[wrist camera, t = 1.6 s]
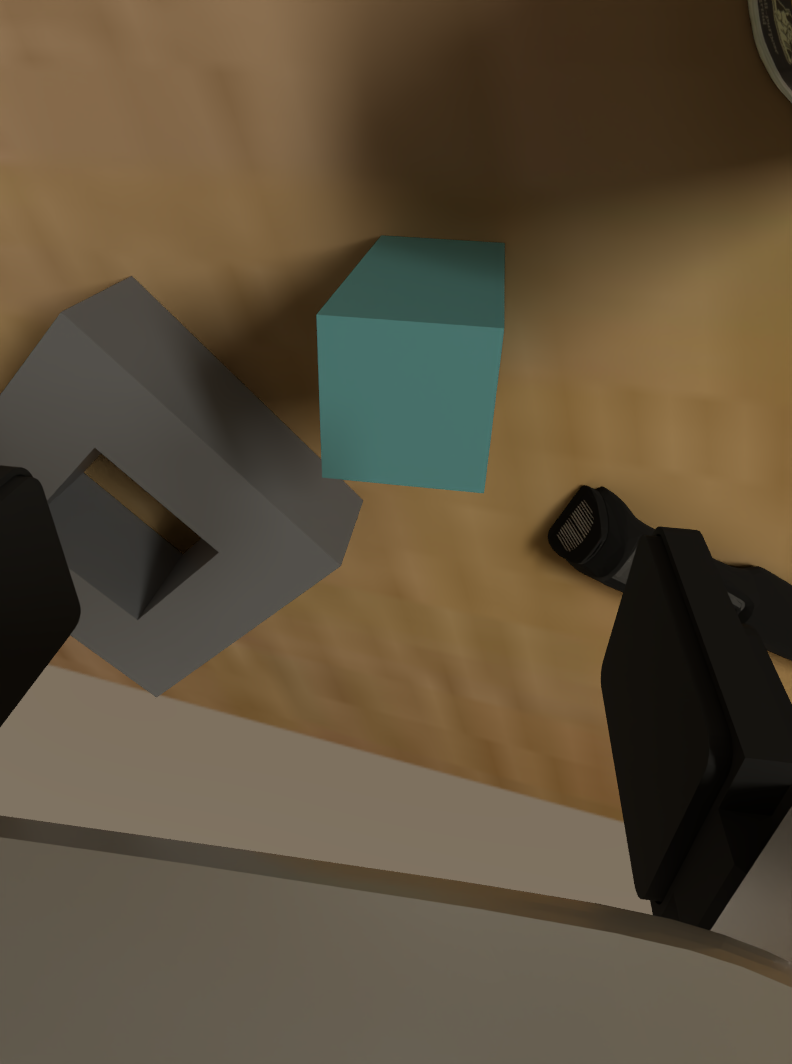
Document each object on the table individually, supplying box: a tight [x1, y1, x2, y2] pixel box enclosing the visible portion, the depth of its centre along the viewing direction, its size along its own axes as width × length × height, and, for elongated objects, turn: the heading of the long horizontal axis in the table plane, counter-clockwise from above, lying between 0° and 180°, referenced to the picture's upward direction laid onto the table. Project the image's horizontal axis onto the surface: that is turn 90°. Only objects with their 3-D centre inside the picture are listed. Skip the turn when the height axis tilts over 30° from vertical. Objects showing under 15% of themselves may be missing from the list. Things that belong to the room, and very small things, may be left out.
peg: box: [316, 235, 505, 493], centre depth 21 cm, size 4×4×10 cm
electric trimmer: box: [548, 485, 792, 661], centre depth 29 cm, size 4×16×3 cm, turn 65°
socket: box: [0, 276, 363, 697], centre depth 29 cm, size 13×13×5 cm
